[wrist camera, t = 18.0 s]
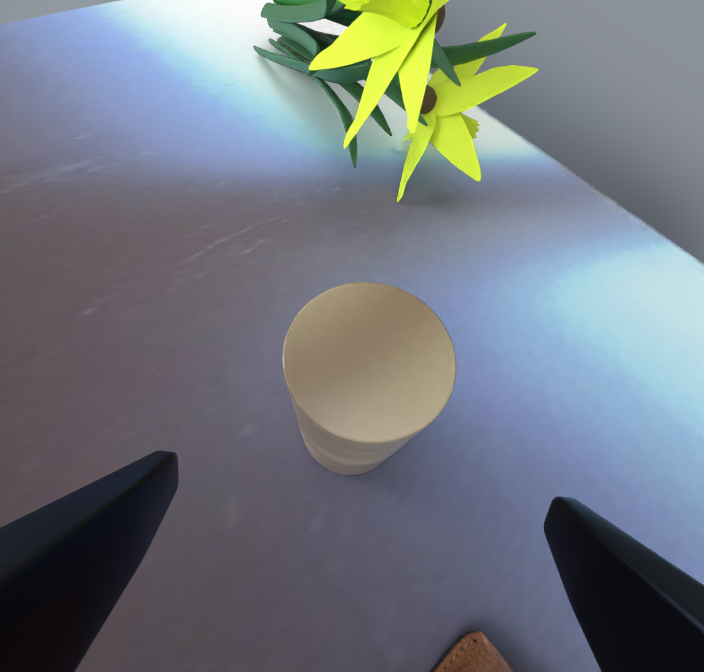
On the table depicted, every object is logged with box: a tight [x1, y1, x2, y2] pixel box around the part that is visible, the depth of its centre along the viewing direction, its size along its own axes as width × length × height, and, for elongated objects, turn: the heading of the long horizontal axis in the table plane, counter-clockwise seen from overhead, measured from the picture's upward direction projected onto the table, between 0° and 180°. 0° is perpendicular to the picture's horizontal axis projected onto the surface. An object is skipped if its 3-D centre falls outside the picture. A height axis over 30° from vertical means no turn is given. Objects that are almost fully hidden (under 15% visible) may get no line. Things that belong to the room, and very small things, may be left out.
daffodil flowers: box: [253, 0, 539, 202], centre depth 26 cm, size 17×15×35 cm
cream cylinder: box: [282, 282, 456, 475], centre depth 15 cm, size 6×6×10 cm
